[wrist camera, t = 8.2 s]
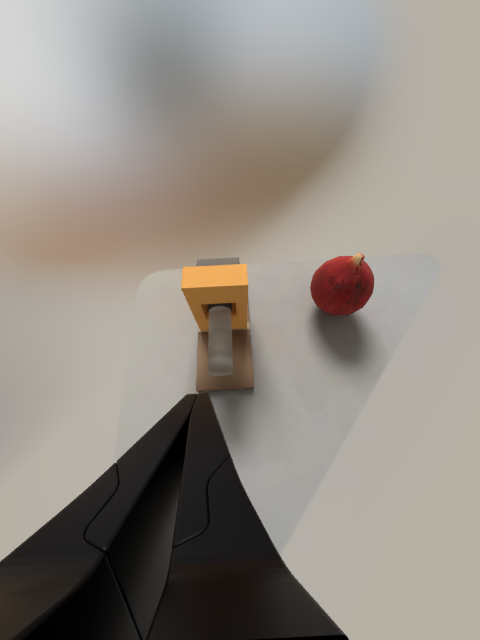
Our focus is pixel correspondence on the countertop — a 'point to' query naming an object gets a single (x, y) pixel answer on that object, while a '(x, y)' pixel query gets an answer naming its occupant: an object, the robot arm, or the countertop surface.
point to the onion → (342, 285)
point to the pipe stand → (223, 347)
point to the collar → (216, 292)
